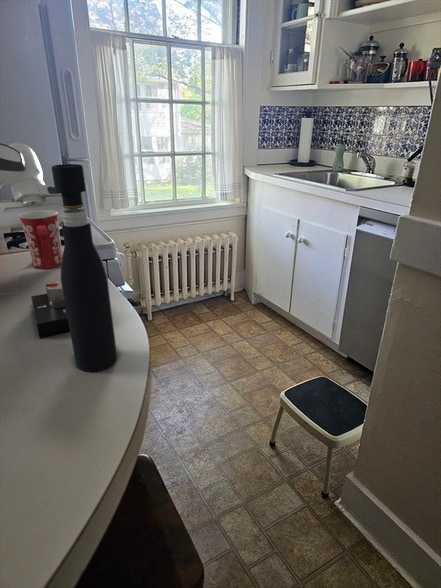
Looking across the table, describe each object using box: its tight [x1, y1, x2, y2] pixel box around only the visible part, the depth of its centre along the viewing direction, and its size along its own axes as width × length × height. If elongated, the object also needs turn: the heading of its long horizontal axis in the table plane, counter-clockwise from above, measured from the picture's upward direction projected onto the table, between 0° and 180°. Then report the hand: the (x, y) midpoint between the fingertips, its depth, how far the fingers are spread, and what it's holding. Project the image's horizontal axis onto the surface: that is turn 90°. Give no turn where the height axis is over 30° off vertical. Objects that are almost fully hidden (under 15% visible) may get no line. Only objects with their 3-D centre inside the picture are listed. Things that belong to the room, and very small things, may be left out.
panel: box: [30, 293, 70, 340], centre depth 76 cm, size 13×10×3 cm
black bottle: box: [51, 163, 118, 373], centre depth 57 cm, size 6×6×30 cm
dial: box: [45, 279, 66, 309], centre depth 74 cm, size 4×4×4 cm
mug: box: [19, 210, 63, 270], centre depth 99 cm, size 13×9×14 cm
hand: (41, 241), depth 104 cm, fingers closed, pressing on mug
